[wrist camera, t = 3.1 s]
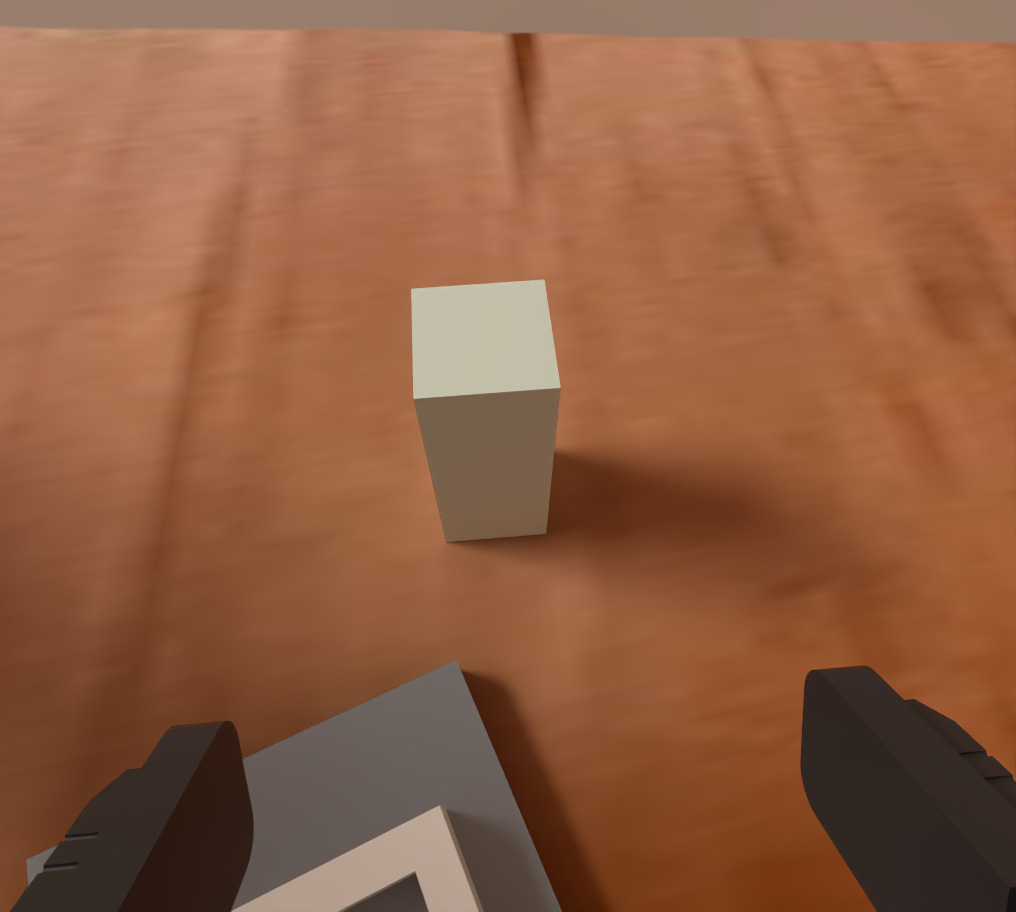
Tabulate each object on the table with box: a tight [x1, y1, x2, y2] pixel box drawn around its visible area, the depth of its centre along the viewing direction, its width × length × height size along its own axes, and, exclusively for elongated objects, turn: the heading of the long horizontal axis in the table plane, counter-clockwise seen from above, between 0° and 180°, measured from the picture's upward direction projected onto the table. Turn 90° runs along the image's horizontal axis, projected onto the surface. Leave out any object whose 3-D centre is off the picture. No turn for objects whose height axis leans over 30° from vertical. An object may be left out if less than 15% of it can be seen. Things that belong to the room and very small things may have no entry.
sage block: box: [411, 280, 560, 542], centre depth 24 cm, size 4×4×10 cm
